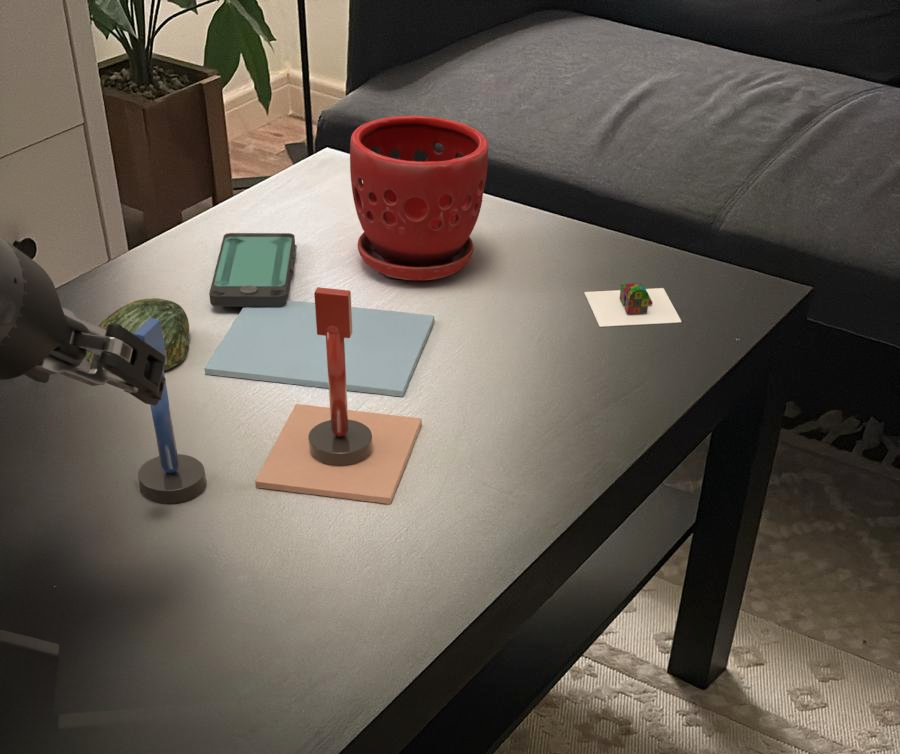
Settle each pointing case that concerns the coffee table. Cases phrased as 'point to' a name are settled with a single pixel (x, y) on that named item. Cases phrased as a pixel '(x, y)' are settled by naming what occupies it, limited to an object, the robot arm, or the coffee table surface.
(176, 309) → the seashell
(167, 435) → the blue rod on disc
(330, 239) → the coffee table surface
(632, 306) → the white paper mat
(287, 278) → the smartphone
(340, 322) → the red rod on disc
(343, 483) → the orange mat
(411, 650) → the coffee table surface
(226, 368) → the blue mat
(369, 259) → the flower pot
